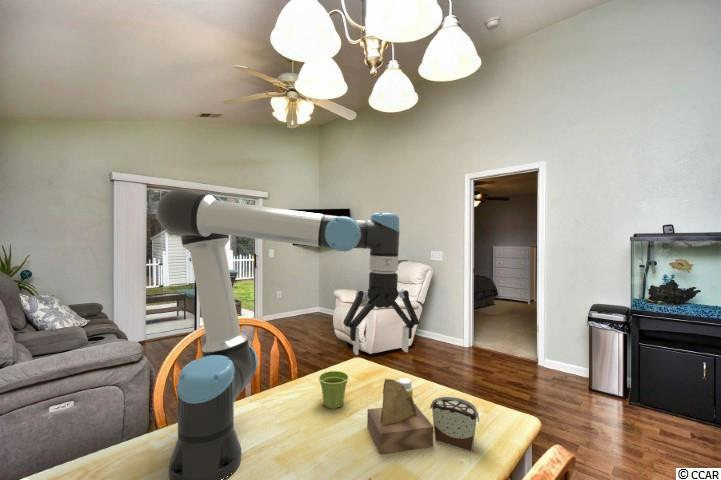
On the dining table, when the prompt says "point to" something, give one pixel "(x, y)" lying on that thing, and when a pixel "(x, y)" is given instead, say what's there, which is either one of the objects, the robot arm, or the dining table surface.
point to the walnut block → (400, 432)
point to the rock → (396, 403)
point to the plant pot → (333, 388)
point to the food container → (454, 422)
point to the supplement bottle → (406, 385)
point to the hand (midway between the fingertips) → (380, 351)
